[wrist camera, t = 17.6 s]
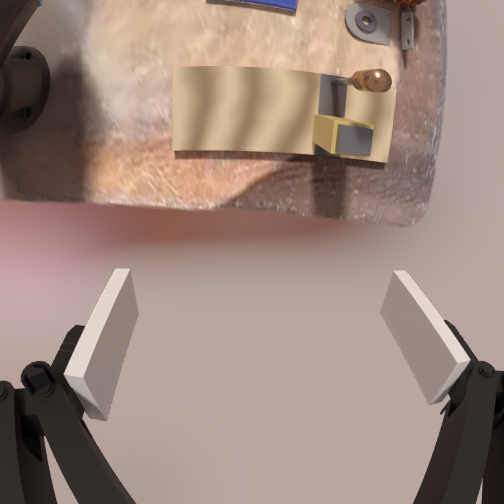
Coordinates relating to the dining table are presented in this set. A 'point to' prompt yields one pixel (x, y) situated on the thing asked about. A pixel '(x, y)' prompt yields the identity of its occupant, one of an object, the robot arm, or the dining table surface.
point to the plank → (270, 110)
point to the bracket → (378, 24)
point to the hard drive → (272, 3)
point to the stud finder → (342, 135)
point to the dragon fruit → (409, 0)
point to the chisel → (367, 81)
